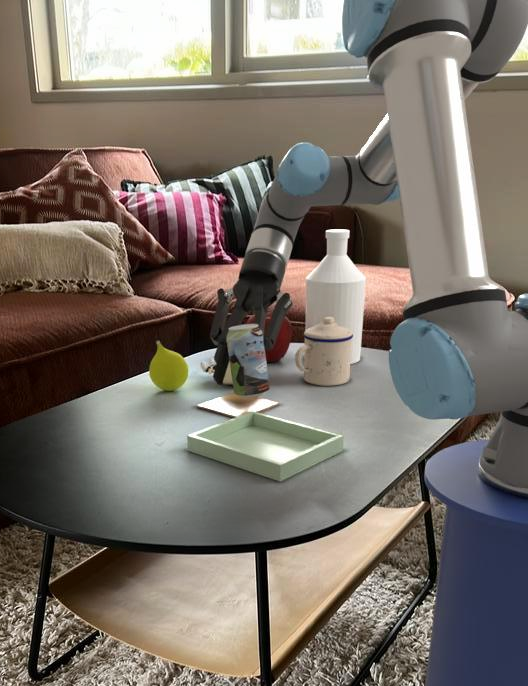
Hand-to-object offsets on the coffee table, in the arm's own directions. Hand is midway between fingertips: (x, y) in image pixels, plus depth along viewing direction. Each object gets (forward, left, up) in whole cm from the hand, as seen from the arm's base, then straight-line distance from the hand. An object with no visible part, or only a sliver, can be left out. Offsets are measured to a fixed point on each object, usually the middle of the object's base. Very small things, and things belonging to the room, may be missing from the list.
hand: (228, 382), depth 125 cm
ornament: (+17, -3, -5) cm, 18 cm away
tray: (-16, +9, -5) cm, 19 cm away
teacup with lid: (-1, -25, -5) cm, 25 cm away
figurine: (+12, -14, -5) cm, 19 cm away
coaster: (+1, -4, -5) cm, 6 cm away
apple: (+16, -30, -5) cm, 34 cm away
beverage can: (-1, -4, -3) cm, 5 cm away
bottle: (+7, -40, -5) cm, 41 cm away
